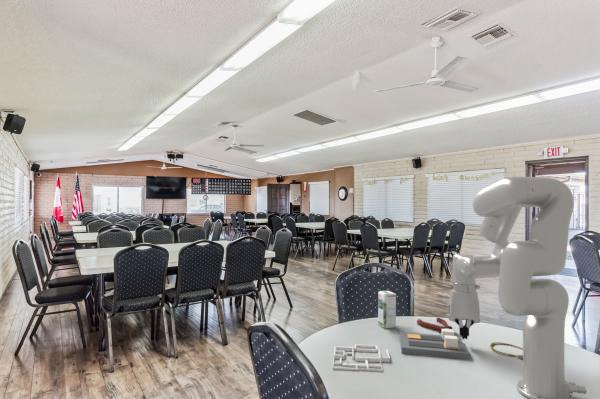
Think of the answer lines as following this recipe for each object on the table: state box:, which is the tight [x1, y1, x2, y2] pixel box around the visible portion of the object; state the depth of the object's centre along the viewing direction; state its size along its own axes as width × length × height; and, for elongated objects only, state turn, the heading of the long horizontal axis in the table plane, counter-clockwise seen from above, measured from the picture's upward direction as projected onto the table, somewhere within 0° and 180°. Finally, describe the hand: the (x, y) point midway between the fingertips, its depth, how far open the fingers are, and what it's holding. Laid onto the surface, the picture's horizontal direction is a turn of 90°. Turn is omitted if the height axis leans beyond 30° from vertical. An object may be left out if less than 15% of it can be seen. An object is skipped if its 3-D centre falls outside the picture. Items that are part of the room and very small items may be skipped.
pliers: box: [416, 317, 462, 338], centre depth 149 cm, size 12×21×3 cm, turn 14°
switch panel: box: [399, 331, 470, 360], centre depth 131 cm, size 22×16×2 cm
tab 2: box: [444, 335, 458, 348], centre depth 127 cm, size 4×3×3 cm
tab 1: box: [440, 328, 455, 340], centre depth 133 cm, size 4×3×3 cm
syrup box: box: [377, 290, 397, 329], centre depth 155 cm, size 6×6×14 cm
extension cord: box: [489, 341, 523, 360], centre depth 127 cm, size 12×16×2 cm
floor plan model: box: [332, 344, 391, 373], centre depth 125 cm, size 19×25×2 cm
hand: (464, 337), depth 132 cm, fingers closed
